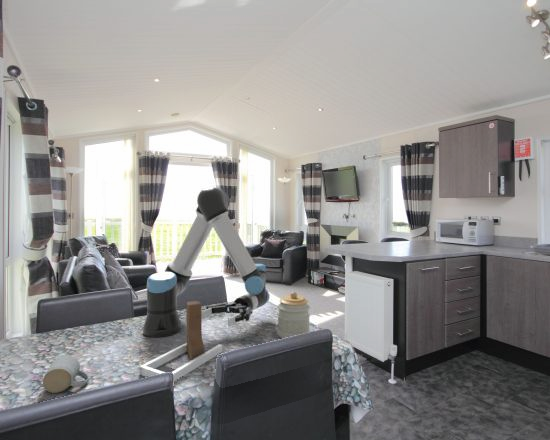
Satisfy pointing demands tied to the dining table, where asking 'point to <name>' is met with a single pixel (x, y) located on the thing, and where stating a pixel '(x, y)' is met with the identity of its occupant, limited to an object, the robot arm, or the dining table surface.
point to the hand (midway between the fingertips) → (214, 319)
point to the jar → (293, 316)
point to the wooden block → (194, 330)
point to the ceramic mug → (63, 374)
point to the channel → (150, 367)
